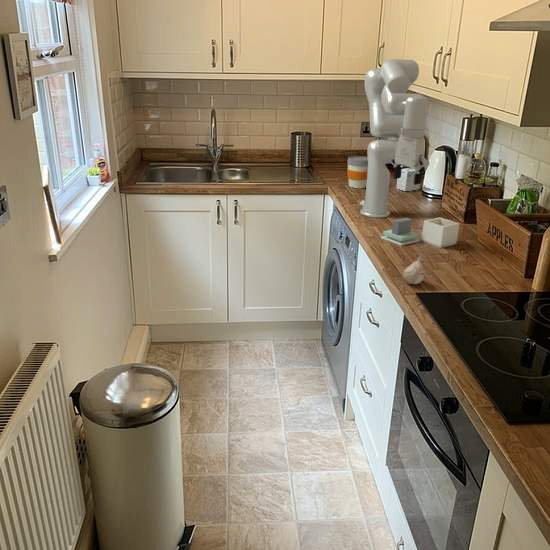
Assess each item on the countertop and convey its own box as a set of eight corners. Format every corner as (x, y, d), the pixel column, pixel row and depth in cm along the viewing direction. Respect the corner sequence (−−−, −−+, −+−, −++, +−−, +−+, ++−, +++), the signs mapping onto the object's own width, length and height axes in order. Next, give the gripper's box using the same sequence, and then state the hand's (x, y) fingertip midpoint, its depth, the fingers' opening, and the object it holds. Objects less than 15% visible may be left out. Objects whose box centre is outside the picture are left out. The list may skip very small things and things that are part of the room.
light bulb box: (410, 187, 292) (412, 167, 288) (419, 190, 287) (422, 169, 282) (395, 189, 286) (397, 168, 282) (405, 192, 281) (407, 171, 277)
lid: (382, 236, 212) (384, 218, 209) (399, 232, 217) (401, 215, 214) (401, 243, 205) (403, 225, 202) (418, 239, 210) (420, 221, 207)
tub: (421, 241, 210) (424, 220, 207) (437, 237, 214) (439, 217, 211) (440, 248, 203) (443, 227, 200) (456, 244, 208) (459, 223, 205)
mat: (380, 238, 212) (380, 236, 212) (399, 233, 218) (399, 232, 217) (401, 245, 204) (401, 244, 204) (420, 241, 210) (420, 239, 210)
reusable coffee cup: (343, 188, 285) (345, 159, 279) (348, 183, 296) (350, 155, 290) (367, 191, 281) (370, 161, 276) (371, 186, 292) (374, 157, 287)
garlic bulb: (427, 285, 170) (431, 261, 167) (409, 288, 168) (413, 263, 165) (415, 277, 176) (418, 253, 173) (397, 280, 174) (400, 255, 171)
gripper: (387, 130, 200) (382, 177, 207) (424, 137, 188) (418, 187, 194) (402, 128, 204) (396, 175, 211) (439, 136, 192) (432, 185, 198)
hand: (406, 181), depth 203 cm, fingers open, 9 cm apart
